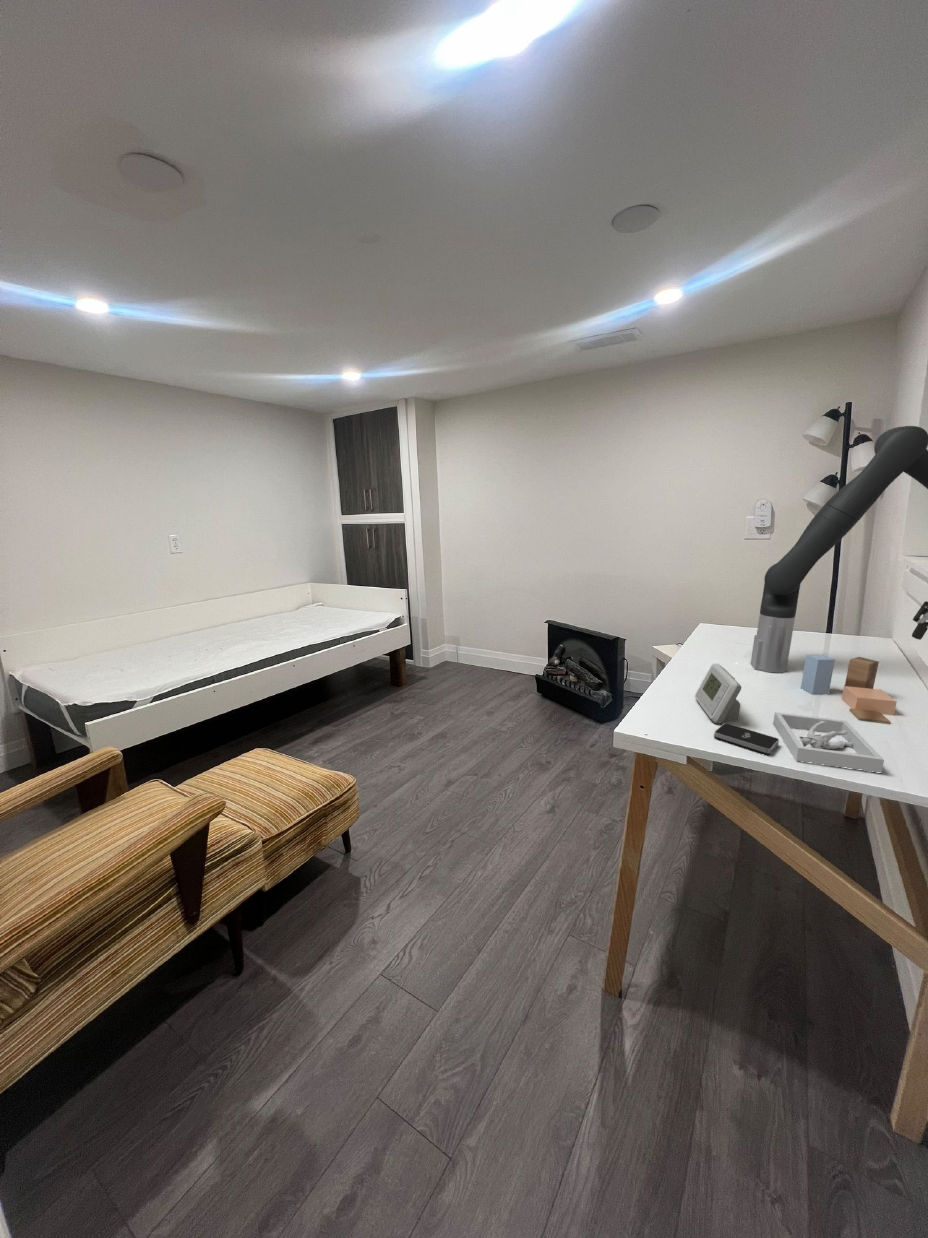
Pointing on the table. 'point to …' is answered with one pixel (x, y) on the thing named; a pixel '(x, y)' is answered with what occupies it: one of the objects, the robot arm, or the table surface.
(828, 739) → the soldier figure
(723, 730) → the external hard drive
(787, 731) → the grey display tray
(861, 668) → the walnut pillar
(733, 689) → the digital clock
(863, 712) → the walnut swatch
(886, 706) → the terracotta block
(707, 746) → the table surface
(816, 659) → the slate pillar
